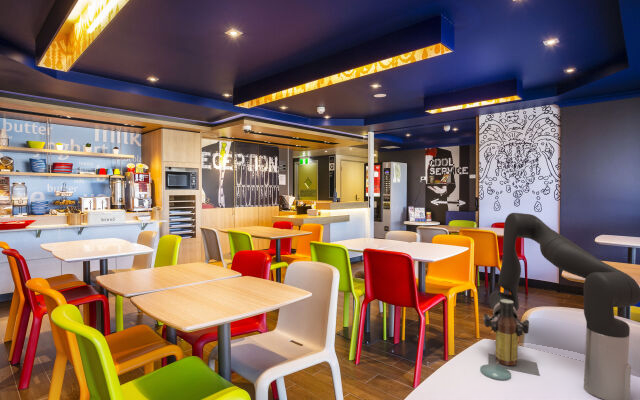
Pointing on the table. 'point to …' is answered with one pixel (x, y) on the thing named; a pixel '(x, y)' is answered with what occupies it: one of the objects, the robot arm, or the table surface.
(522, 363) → the grey card
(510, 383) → the table surface
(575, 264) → the robot arm
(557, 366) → the table surface
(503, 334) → the sauce bottle
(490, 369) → the sage green round disc
